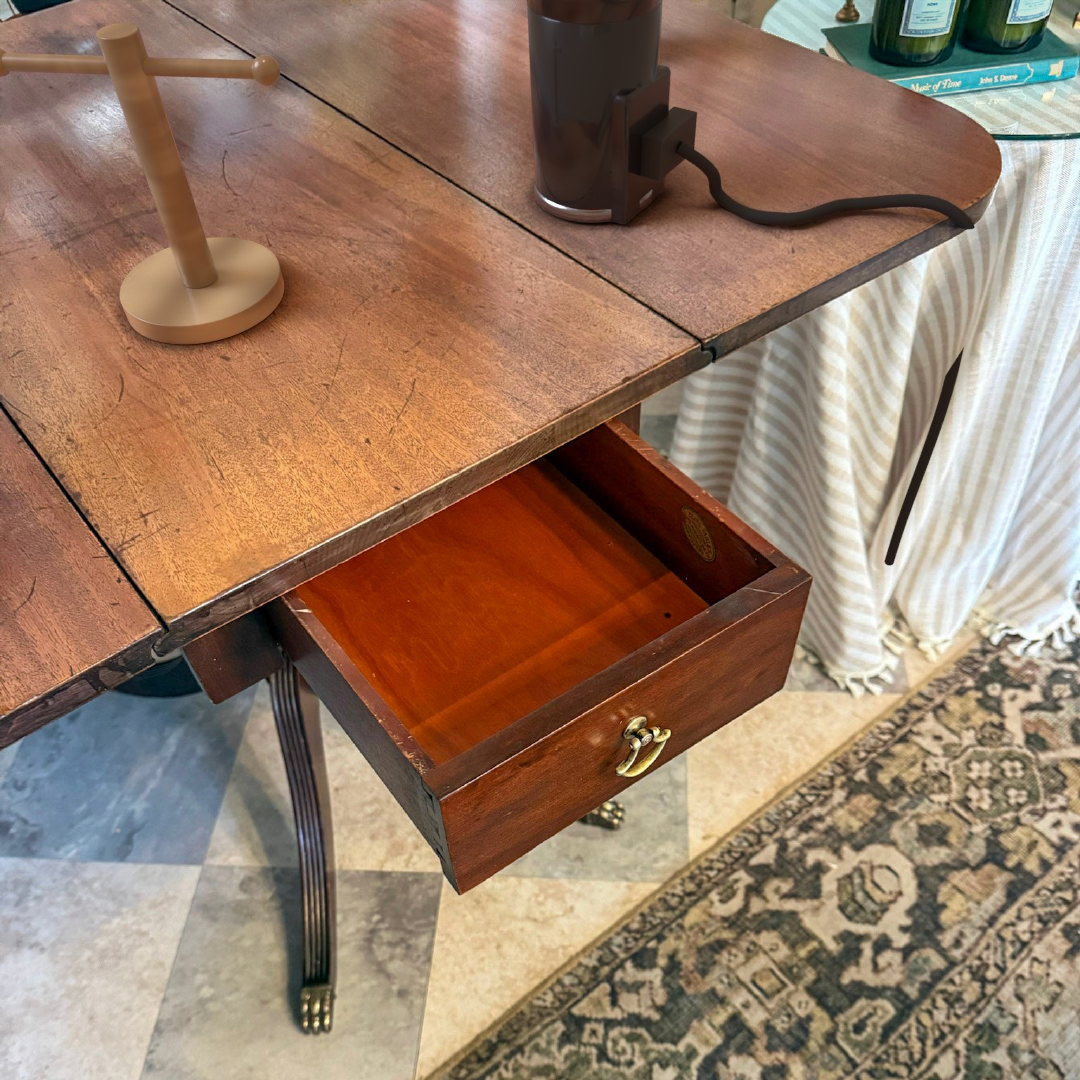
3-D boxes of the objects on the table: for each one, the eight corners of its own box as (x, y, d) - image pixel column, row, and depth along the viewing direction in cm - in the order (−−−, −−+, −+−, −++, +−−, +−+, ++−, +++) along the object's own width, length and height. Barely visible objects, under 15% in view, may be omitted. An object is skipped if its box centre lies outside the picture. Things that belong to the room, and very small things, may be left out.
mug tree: (354, 261, 73) (302, -3, 60) (307, 353, 66) (235, 75, 53) (118, 248, 76) (17, -8, 62) (47, 335, 68) (-84, 66, 55)
